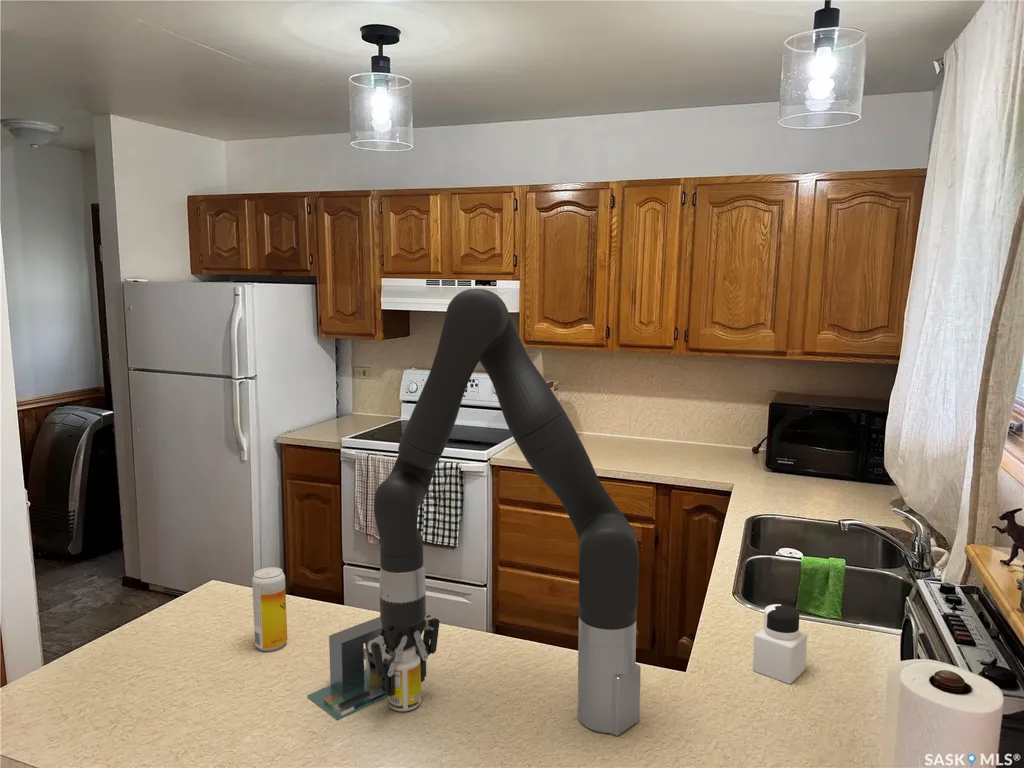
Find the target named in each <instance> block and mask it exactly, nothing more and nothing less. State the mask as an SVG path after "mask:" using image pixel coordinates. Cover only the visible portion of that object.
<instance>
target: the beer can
mask: <svg viewBox="0 0 1024 768" xmlns="http://www.w3.org/2000/svg"><path fill="white" fill-rule="evenodd" d="M251 582H252V584H251V586H252V607H253V632H254V645H255V646H256V647H257V648H258V650H260V651H261V652H273V651H277V650H280V649H282V648H283V647H284V646H285V644H286V643H287V641H288V626H287V623H288V621H287V619H288V618H287V599H286V597H287V596H286V575H285V573H284V572H283V569H282V568H280V567H275V566H274V567H273V566H271V567H270V566H269V567H263V568H261V569H258V570H256V571H255V572H254V573H253V576H252V578H251Z"/></svg>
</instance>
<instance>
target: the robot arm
mask: <svg viewBox="0 0 1024 768" xmlns="http://www.w3.org/2000/svg"><path fill="white" fill-rule="evenodd" d="M508 310H509V309H508V308H507V305H506V303H505V302H504V301H503V299H502V298H501V297H500V296H499V295H497V294H496V293H494V291H491V290H488V289H483V288H470V289H469V288H468V289H466V290H462V291H461V292H459V293H457V294H456V295H455V296H454V297H453V298H452V299H451V300H450V302H449V303H448V306H447V308H446V312H445V316H444V320H443V325H442V329H441V333H440V338H439V340H438V341H439V342H438V345H437V350H436V352H435V356H434V359H433V361H432V364H431V368H430V372H429V374H428V376H427V378H426V381H425V383H424V386H423V388H422V390H421V393H420V395H419V397H418V400H417V401H416V404H415V406H414V408H413V410H412V413H411V415H410V417H409V420H408V422H407V424H406V427H405V429H404V431H403V433H402V436H401V439H400V441H399V444H398V447H397V449H398V451H397V452H398V456H397V457H396V460H395V463H394V464H393V467H392V469H391V472H390V474H389V475H388V476H387V478H386V479H384V480H383V481H382V482H381V483H380V484H379V486H378V487H377V489H376V491H375V494H374V498H373V499H374V500H373V511H374V512H373V513H374V518H375V524H376V529H377V533H378V537H379V541H380V543H379V545H380V546H379V552H380V553H379V554H380V556H379V557H380V572H379V578H378V579H379V617H380V619H381V622H382V630H381V633H380V636H379V637H377V638H375V639H374V640H371V639H367V640H366V641H365V643H364V645H365V647H364V648H365V649H366V652H367V657H368V662H369V667H370V671H371V672H373V673H375V674H376V675H378V676H379V677H381V689H382V691H383V692H384V693H385V694H387V695H388V696H390V697H391V696H393V695H395V677H394V674H393V673H394V670H395V667H396V664H397V663H398V662H399V661H400V658H401V654H402V651H403V650H406V649H408V648H410V647H413V646H415V650H416V653H417V654H418V655H419V656H420V664H421V683H424V682H425V679H426V677H427V660H428V659H429V656H430V655H434V654H435V653H436V652H437V648H438V647H437V646H438V638H439V631H440V630H439V628H440V620H439V619H438V618H437V617H435V616H432V615H430V614H427V613H426V612H427V611H426V610H427V609H426V608H427V607H426V605H427V603H426V600H427V599H426V598H427V597H426V574H425V568H424V541H423V536H422V534H421V532H420V531H419V529H418V521H417V518H418V517H417V515H418V511H417V510H418V508H419V507H420V506H421V504H422V503H423V502H424V499H425V498H426V495H427V493H428V491H429V488H430V486H431V482H432V479H433V476H434V474H435V469H436V467H437V465H438V463H439V460H440V459H441V457H442V454H443V452H444V451H445V448H446V445H447V444H448V441H449V440H450V436H451V434H452V433H453V429H454V426H455V424H456V420H457V417H458V415H459V411H460V408H461V405H462V401H463V398H464V395H465V392H466V389H467V386H468V384H469V382H470V380H471V377H472V375H473V373H474V371H475V370H476V367H477V365H478V363H479V362H480V364H481V366H482V367H483V369H484V371H485V372H486V374H487V376H488V377H489V380H490V381H491V384H492V386H493V389H494V391H495V395H496V397H497V400H498V405H499V406H500V409H501V412H502V415H503V418H504V420H505V423H506V425H507V427H508V429H509V432H510V434H511V436H512V438H513V439H514V441H515V443H516V444H517V446H518V448H519V451H520V452H521V453H522V455H523V457H524V458H525V461H527V464H528V465H529V466H530V468H531V469H532V471H534V473H535V474H536V475H537V476H538V477H539V478H540V479H541V481H542V482H543V483H544V484H545V485H546V486H547V487H548V488H549V489H550V490H551V491H552V493H553V494H554V495H555V496H556V497H557V498H558V499H559V502H560V503H561V504H562V506H563V508H564V509H565V511H566V513H567V515H568V517H569V520H570V521H571V524H572V526H573V528H574V530H575V532H576V535H577V537H578V540H579V551H578V642H577V643H578V645H577V648H578V649H577V650H578V652H577V654H578V655H577V658H578V659H577V718H578V721H579V722H580V723H581V724H582V725H583V726H584V727H586V728H587V729H589V730H591V731H595V732H599V733H603V734H604V733H605V734H612V735H614V736H616V737H617V736H619V735H621V734H622V733H624V732H625V731H627V730H628V729H630V728H631V727H633V726H634V725H635V724H636V723H638V722H640V715H641V714H640V712H641V711H640V707H641V704H640V703H641V702H640V701H641V670H642V669H641V668H642V667H641V666H640V665H639V664H638V663H636V648H637V615H638V614H637V613H638V604H639V582H640V581H639V580H640V579H639V577H640V575H639V574H640V552H639V545H638V538H637V534H636V532H635V530H634V528H633V526H632V525H631V524H630V522H629V521H628V520H627V518H626V517H625V515H624V514H623V512H622V511H621V509H619V507H618V506H617V505H616V503H615V502H614V500H613V499H612V498H611V496H610V494H609V493H608V492H607V490H606V489H605V487H604V485H603V484H602V482H601V480H600V479H599V477H598V474H597V472H596V470H595V468H594V466H593V463H592V461H591V458H590V457H589V455H588V452H587V450H586V448H585V447H584V445H583V442H582V441H581V439H580V437H579V434H578V432H577V431H576V430H577V429H576V428H575V426H574V425H573V423H572V421H571V420H570V418H569V416H568V414H567V413H566V411H565V410H564V408H563V406H562V404H561V403H560V402H559V400H558V398H557V396H556V395H555V394H554V392H553V390H552V388H551V387H550V386H549V384H548V383H547V381H546V379H545V378H544V377H543V376H542V374H541V372H540V370H538V368H537V367H536V366H535V364H534V363H533V361H532V360H531V357H530V356H529V353H527V350H526V349H525V347H524V344H523V342H522V340H521V338H520V336H519V334H518V332H517V329H516V327H515V325H514V324H515V323H514V322H513V320H512V317H511V314H510V312H509V311H508ZM426 614H427V615H426ZM422 635H423V636H422ZM383 643H385V645H384V648H383V649H382V645H383ZM390 650H391V651H393V652H394V655H393V654H391V652H390ZM381 652H382V655H381ZM388 663H389V665H388ZM388 696H387V697H388Z"/></svg>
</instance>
